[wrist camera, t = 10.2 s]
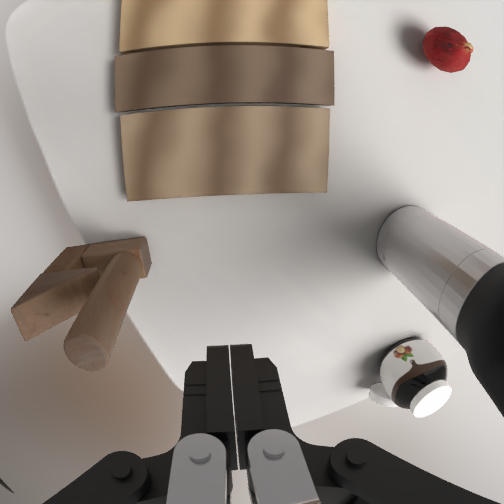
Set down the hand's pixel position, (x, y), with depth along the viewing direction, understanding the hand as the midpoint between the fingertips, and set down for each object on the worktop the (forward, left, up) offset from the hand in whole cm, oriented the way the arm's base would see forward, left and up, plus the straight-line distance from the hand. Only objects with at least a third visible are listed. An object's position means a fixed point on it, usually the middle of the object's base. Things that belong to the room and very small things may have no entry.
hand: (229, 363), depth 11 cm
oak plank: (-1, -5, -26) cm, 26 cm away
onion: (-26, -18, -26) cm, 41 cm away
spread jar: (-28, +30, -26) cm, 48 cm away
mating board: (-1, -12, -26) cm, 29 cm away
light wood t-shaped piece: (+13, +7, -26) cm, 30 cm away
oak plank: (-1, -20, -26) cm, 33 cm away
